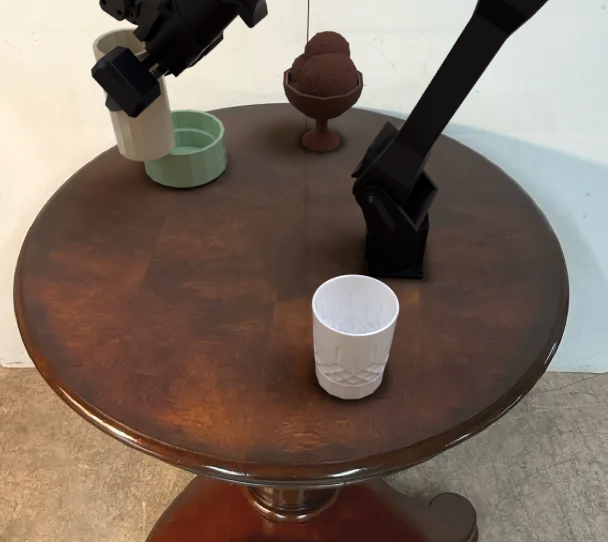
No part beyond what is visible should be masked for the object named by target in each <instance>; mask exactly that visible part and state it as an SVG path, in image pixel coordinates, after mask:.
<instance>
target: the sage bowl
mask: <svg viewBox="0 0 608 542" xmlns="http://www.w3.org/2000/svg"><path fill="white" fill-rule="evenodd" d="M171 115H172V121H173V126H174V132H175V140H176V144H175V147H174V149H173V150H172V151H171V152H170V153H169V154H167V155H166V156H164V157H162V158H159V159H156V160H151V161H143V166H144V169H145V173H146V175H147V176H149V178H150V179H151V180H153V181H154V182H156V183H158V184H161V185H163V186H165V187H166V186H168V187H172V188H194V187H198V186H203V185H205V184H208V183H210V182H212V181H213V180H215V179H217V178H218V177H220V176H221V174H223V173H224V171H225V170H226V166H227V165H228V164H227V163H228V154H227V144H226V143H227V142H226V132H225V130H226V129H225V127H224V124H223V122H222V121H221V120H220V119H219V118H218V117H216V116H215V115H213V114H211V113H208V112H206V111H203V110H196V109H173V110H171Z"/></svg>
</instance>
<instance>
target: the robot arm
mask: <svg viewBox="0 0 608 542" xmlns="http://www.w3.org/2000/svg"><path fill="white" fill-rule="evenodd" d="M547 2H549V0H477V1H476V4H475V6H474V8H473V9H474V10H473V12H472V14H471V17H470V18H469V20H468V22H467V23H466V25H465V26H464V28H463V30H462V31H461V33H460V34H459V35H458V37H457V39H456V40H455V42H454V44H453V45H452V47H451V49H450V50H449V52H447V55H446V56H445V58H444V60H443V61H442V63H441V64H440V66H439V68H438V69H437V71H436V72H435V74H433V77H432V79H431V80H430V82H429V83H428V84H427V86H426V88H425V90H424V91H423V93H422V95H421V96H420V98H419V99H418V100H417V102H416V104H415V105H414V108H413V109H412V110H411V111H410V113H409V115H408V117H407V118H406V119H405V121H404V122H402V123H401V124H400V125H399V126H398V127H396V126H394V125H393V124H392V123H391V122H390V121H389V120H386V121H385V123H384V124H383V126H382V127H381V129H380V130H379V132H378V133H377V134H376V136H375V137H374V139H373V140H372V142H371V143H370V144H369V146H368V147H367V148H366V149H367V150H366V152H365V154H364V156H363V157H362V159H360V162H359V163H358V164H357V166H356V167H355V169H354V170H353V171H352V173H351V175H350V177H351V179H355V180H354V182H353V184H352V187H351V194H352V195H353V196H354V200H355V202H356V203H357V205H358V206H359V208H360V209H361V212H362V216H363V219H364V223H365V230H364V242H363V260H364V262H367V263H366V266H367V267H366V268H367V269H366V271H367V272H366V274H367V275H368V276H369V277H371V276H372V277H388V278H389V277H390V278H405V279H406V278H407V279H409V278H410V279H422V278H424V277H425V266H424V265H425V264H424V259H425V254H426V248H427V242H428V236H429V232H430V219H429V210H430V208H431V206H432V204H433V203H434V201H435V199H436V197H437V195H438V193H439V191H440V189H439V187H438V185H436V183H435V182H434V181H433V179H432V177H430V175H429V174H428V173H427V172H426V170H425V167H426V165H427V162H428V160H429V158H430V156H431V152H432V151H433V147H434V144H435V143H436V141H437V140H438V139H439V137H440V136H441V134H442V133H443V131H444V130H445V129H446V127H447V126H448V124H449V123H450V121H451V120H452V118H453V117H454V116H455V114H456V113H457V112H458V110H459V109H460V107H461V105H462V104H463V103H464V101H465V100H466V99H467V97H468V95H469V94H470V93H471V92H472V90H473V88H474V87H475V85H476V84H477V83H478V82H479V80H480V78H481V77H482V76H483V74H484V73H485V72H486V70H487V68H488V67H489V66H490V64H491V63H492V61H493V60H494V59H495V57H496V55H497V54H498V52H499V51H500V50H501V48H502V47H503V46H504V44H505V43H506V41H507V40H508V39H509V38H510V37H511V36H512V35H514V33H515V32H517V30H519V29H520V28H521V27H522V26H523V25H525V24H526V23H527V22H529V20H530V19H532V18H533V17H534V16H535V15H536V14H537V13H538V11H540V10H541V9H542V8H543V7H544V6H545V5H546V4H547ZM98 5H99V7H100V9H101V11H103V12H104V13H106V15H109V16H110V17H111V18H113V19H115V21H117V22H122V21H124V20H125V21H127V22H129V23H130V24H132V25H134V26H137V27H135V28H136V29H135V30H134V32H133V34H134V35H135V36H136V38H137V39H138V40H139V41H140V42H143V41H144V42H145V44H144V45H143V47H144V49H145V50H146V51H147V52H148V53H149V56H148V57H147V58H145V59H144V60H143V61H142V62H141V61H140V60H139V59H138V58H137V57H136V56H135V55H134V54H133V52H132V51H131V50H130V49H129V48H127V47H122V46H116V47H115V48H114V49H112V50H111V51H110V52H108V53H107V54H106V55H104V56H103V57H102V58H100V59H99V60H98V61H97V63H96V62H95V63H94V65H93V66H92V68H91V69H90V74H91V78H92V79H93V80H94V81H95V82H96V83H97V84H98V85H99V86H100V87H101V88H102V89H104V90H105V91H106V92H107V98H105V101H104V106H105V107H106V108H107V110H108V109H109V110H110V111H111V112H115V111H122V110H123V111H124V112H125V113H126V114H127V115H128V116H129V117H133V118H137V117H138V116H139V115H140V114H141V113H142V112H143V111H144V110H146V109H147V108H148V107H149V106H150V105H151V104H152V103H153V102H154V101H155V100H156V99H157V98H158V97H159V96H160V95H161V89H160V83H159V82H158V79H159V78H161V77H162V76H163V75H164V77H168V76H170V75H173V77H175V78H178V77H179V76H180V75H181V74H182V73H184V72H185V71H186V70H187V69H190V68H192V67H194V66H196V65H197V64H198V63H199V62H200V61H201V60H202V59H204V58H206V56H208V55H209V54H210V53H211V52H212V51H213V50H215V48H217V47H218V45H220V43H222V41H223V40H224V38H225V37H224V33H225V30H226V29H227V28H228V27H229V26H230V25H231V24H232V23H233V22H234V20H236V19H237V18H238V17H239V18H240V19H241V20H242V22H243V23H244V24H245V25H246V26H247V28H249V29H253V28H255V27H256V26H257V25H258V24H259V23H260V22H262V21H263V20H264V19H265V18H266V17H267V16H268V15H269V10H268V3H267V1H266V0H99V1H98ZM156 64H158V65H159V66H157V67H156V68H155V69H154V70H153V71H151V72H150V71H149V70H150V69H152V68H153V67H154V66H155V65H156ZM109 110H108V111H109Z"/></svg>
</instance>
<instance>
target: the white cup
mask: <svg viewBox="0 0 608 542" xmlns="http://www.w3.org/2000/svg"><path fill="white" fill-rule="evenodd" d="M311 311H312V313H311V314H312V341H313V355H314V362H315V364H314V365H315V375H316V378H317V381H318V384H319V386H320V387H321V388H322V389H323V390H324V391H326V392H327V393H328V394H329V395H331V396H334V397H337V398H339V399H342V400H360V399H362V398H365V397H367V396H370V395H372V394H373V393H374V392H375V391H376V390H377V389H378V388H379V387H380V385H382V381H383V376H384V371H385V368H386V365H387V363H388V359H389V357H390V351H391V348H392V344H393V340H394V335H395V330H396V326H397V321H398V316H399V312H400V302H399V300H398V297H397V295H396V293H395V292H394V291H393V290H392V289H391V288H390V286H388V285H387V284H386V283H384V282H383V281H381V280H379V279H376V278H374V277H371V276H369V275H368V276H367V275H361V274H345V275H339V276H335V277H332V278H330V279H328V280H327V281H325V282H323V283H322V284H320V285H319V287H317V289H316V290H315V292H314V294H313V296H312V300H311Z"/></svg>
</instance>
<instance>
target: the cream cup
mask: <svg viewBox="0 0 608 542" xmlns="http://www.w3.org/2000/svg"><path fill="white" fill-rule="evenodd" d="M136 28H137V27H122V28H117V29H112V30H109V31H106V32H104V33H102V34H100V35H99V36H98V37H96V38H95V39H94V40H93V42H92V47H91V48H92V51H93V56H94V59H95V64H96V63H97V61H98V60H99V59H100V58H102V57H103V56H104V55H106V54H107V53H108V52H110V51H111V50H112V49H114V48H115V47H116V46H122V47H127V48H129V49H130V50H131V51H132V52H133V54H134V55H135V56H136V57H137V58H138V59H139V60H140V61H141V62H142V61H143V60H144V59H145V58H147V57H148V56H149V53H148V52H147V51H146V50H145V49H144V47H143V45H144V44H145V42H144V41H143V42H140V41H139V40H138V39H137V38H136V36H135V35H134V34H133V32H134V30H135V29H136ZM157 66H159V65H158V64H156V65H155V66H154V67H153V68H152V69H150V70H149V71H150V72H151V71H153V70H154V69H155V68H156V67H157ZM165 77H166V76H165ZM165 77H164V75H163V76H162V77H161V78H159V79H158V82H159V83H160V89H161V95H160V96H159V97H158V98H157V99H156V100H155V101H154V102H153V103H152V104H151V105H150V106H149V107H148V108H147V109H146V110H144V111H143V112H142V113H141V114H140V115H139V116H138V117H137V118H133V117H129V116H128V115H127V114H126V113H125V112H124V111H123V110H122V111H115V112H111V111H110V110H109V109H108V108H107V110H108V114H109V117H110V123H111V124H112V129H113V133H114V138H115V142H116V145H117V149H118V151H119V153H120V155H122V156H123V157H124V158H125V159H128V160H131V161H134V162H144V161H151V160H156V159H159V158H162V157H164V156H166V155H167V154H169V153H170V152H171V151H172V150H173V149H174V147H175V144H176V140H175V132H174V126H173V121H172V115H171V111H172V110H171V105H170V100H169V95H168V88H167V84H166V78H165ZM102 89H103V88H102ZM103 95H104V98H105V99H106V98H107V92H106V91H105V90H104V89H103Z"/></svg>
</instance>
